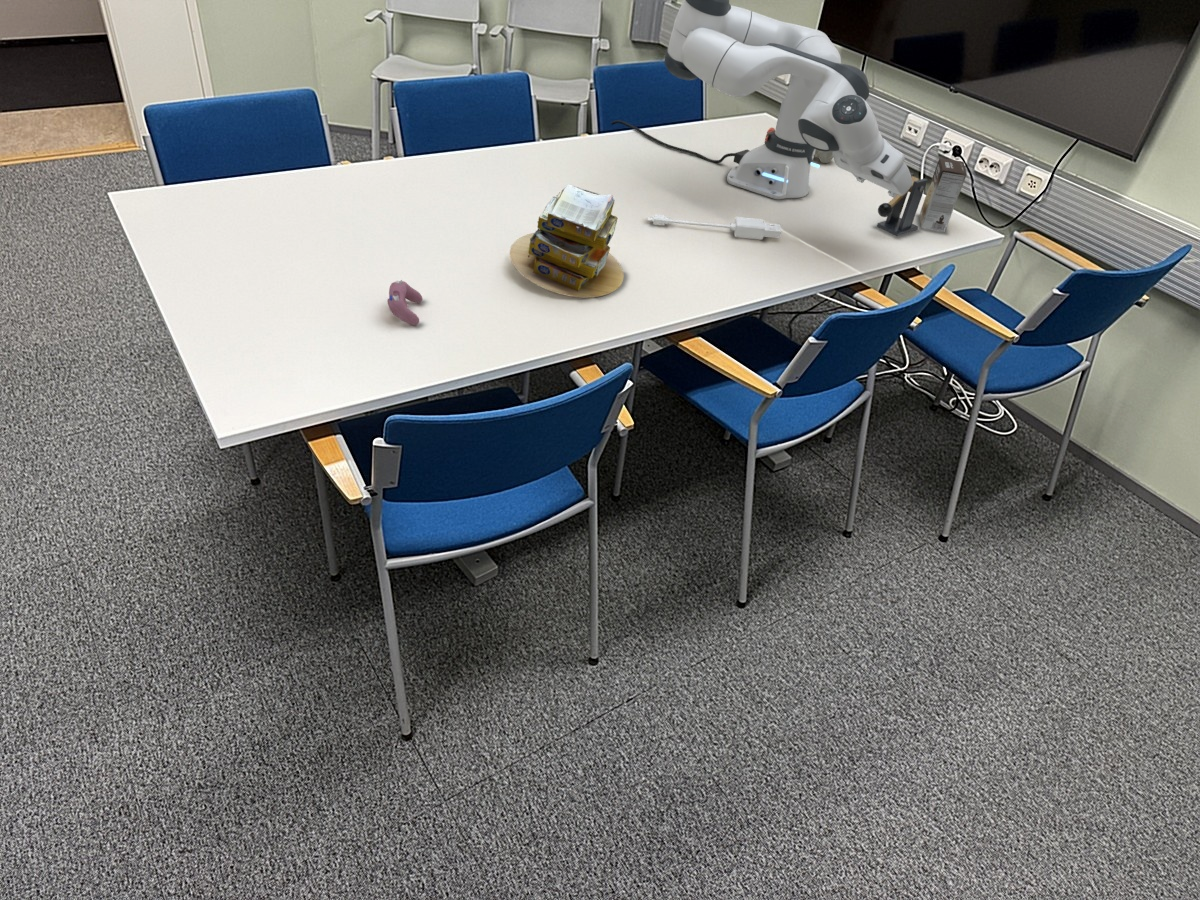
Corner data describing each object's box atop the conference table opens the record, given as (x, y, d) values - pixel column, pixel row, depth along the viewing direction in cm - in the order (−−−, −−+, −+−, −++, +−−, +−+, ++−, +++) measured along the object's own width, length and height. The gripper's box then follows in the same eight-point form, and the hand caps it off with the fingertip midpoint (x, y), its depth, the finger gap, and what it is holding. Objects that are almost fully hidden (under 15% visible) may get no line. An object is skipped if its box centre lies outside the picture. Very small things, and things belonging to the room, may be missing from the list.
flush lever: (886, 221, 218) (885, 212, 215) (875, 216, 220) (874, 206, 217) (921, 188, 220) (921, 178, 217) (910, 183, 222) (909, 173, 219)
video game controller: (404, 306, 174) (386, 277, 170) (424, 298, 173) (407, 269, 169) (399, 333, 166) (380, 303, 162) (420, 325, 166) (402, 294, 161)
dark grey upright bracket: (896, 237, 222) (914, 185, 214) (876, 227, 226) (892, 175, 217) (917, 230, 227) (935, 179, 219) (896, 220, 231) (914, 169, 222)
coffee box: (917, 215, 235) (938, 156, 225) (941, 219, 235) (963, 161, 225) (920, 229, 228) (942, 169, 218) (945, 233, 228) (968, 174, 218)
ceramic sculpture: (830, 138, 250) (787, 124, 258) (823, 168, 255) (782, 154, 263) (851, 132, 256) (809, 119, 264) (844, 162, 261) (803, 148, 269)
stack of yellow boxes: (642, 268, 194) (653, 196, 184) (587, 312, 177) (595, 235, 166) (548, 235, 202) (554, 164, 192) (486, 274, 185) (488, 198, 174)
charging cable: (646, 221, 216) (648, 208, 214) (777, 233, 216) (780, 220, 214) (646, 229, 212) (647, 216, 210) (779, 242, 212) (782, 229, 210)
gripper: (821, 147, 204) (835, 181, 216) (892, 180, 193) (903, 213, 204) (838, 126, 204) (852, 160, 215) (910, 157, 192) (921, 192, 204)
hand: (877, 186), depth 210 cm, fingers open, 8 cm apart
